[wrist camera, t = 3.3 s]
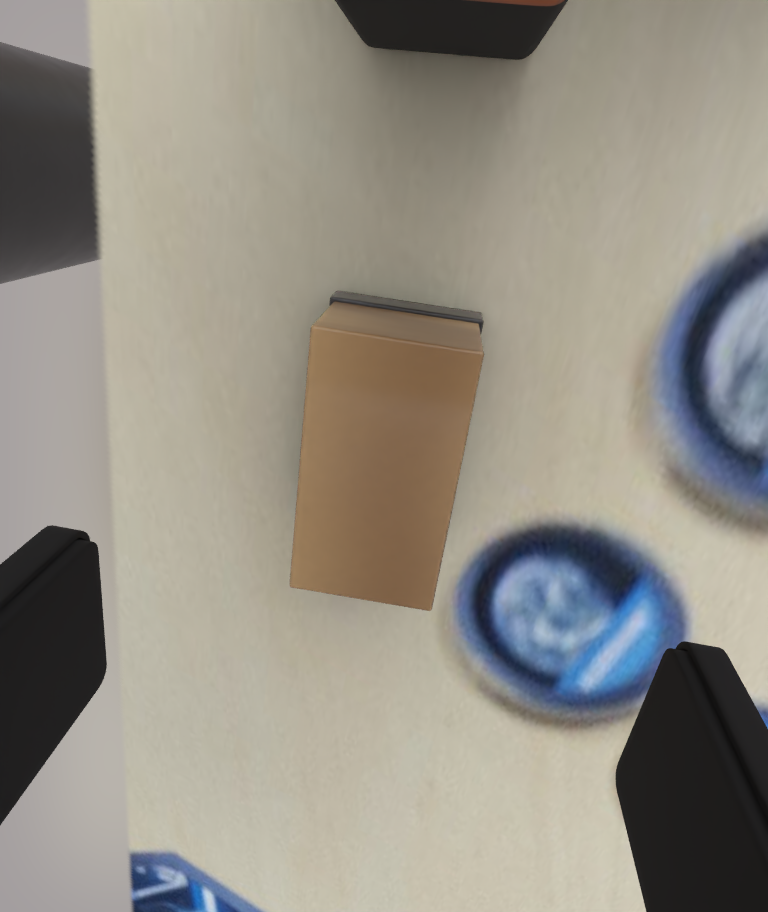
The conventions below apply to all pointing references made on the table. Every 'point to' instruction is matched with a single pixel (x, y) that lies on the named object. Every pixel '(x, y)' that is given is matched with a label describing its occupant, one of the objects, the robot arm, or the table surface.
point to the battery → (454, 25)
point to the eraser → (382, 446)
